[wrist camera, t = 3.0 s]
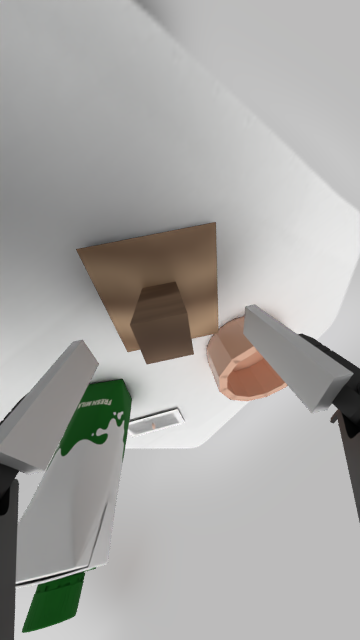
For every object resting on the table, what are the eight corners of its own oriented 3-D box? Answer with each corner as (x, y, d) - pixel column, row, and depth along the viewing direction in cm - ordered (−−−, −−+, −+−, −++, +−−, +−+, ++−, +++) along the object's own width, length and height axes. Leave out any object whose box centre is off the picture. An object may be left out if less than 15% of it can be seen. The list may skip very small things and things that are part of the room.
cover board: (80, 248, 14) (-9, 261, 7) (212, 223, 15) (270, 207, 7) (128, 347, 22) (112, 408, 14) (216, 329, 22) (246, 378, 14)
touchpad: (184, 418, 38) (185, 427, 37) (133, 432, 39) (132, 442, 37) (177, 404, 34) (178, 413, 33) (119, 420, 35) (117, 430, 33)
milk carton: (96, 407, 30) (14, 629, 13) (77, 381, 25) (-89, 674, 8) (137, 400, 31) (109, 603, 14) (126, 374, 26) (63, 633, 9)
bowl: (204, 324, 22) (218, 352, 17) (282, 308, 23) (321, 330, 17) (208, 375, 29) (219, 407, 24) (268, 362, 30) (293, 390, 24)
